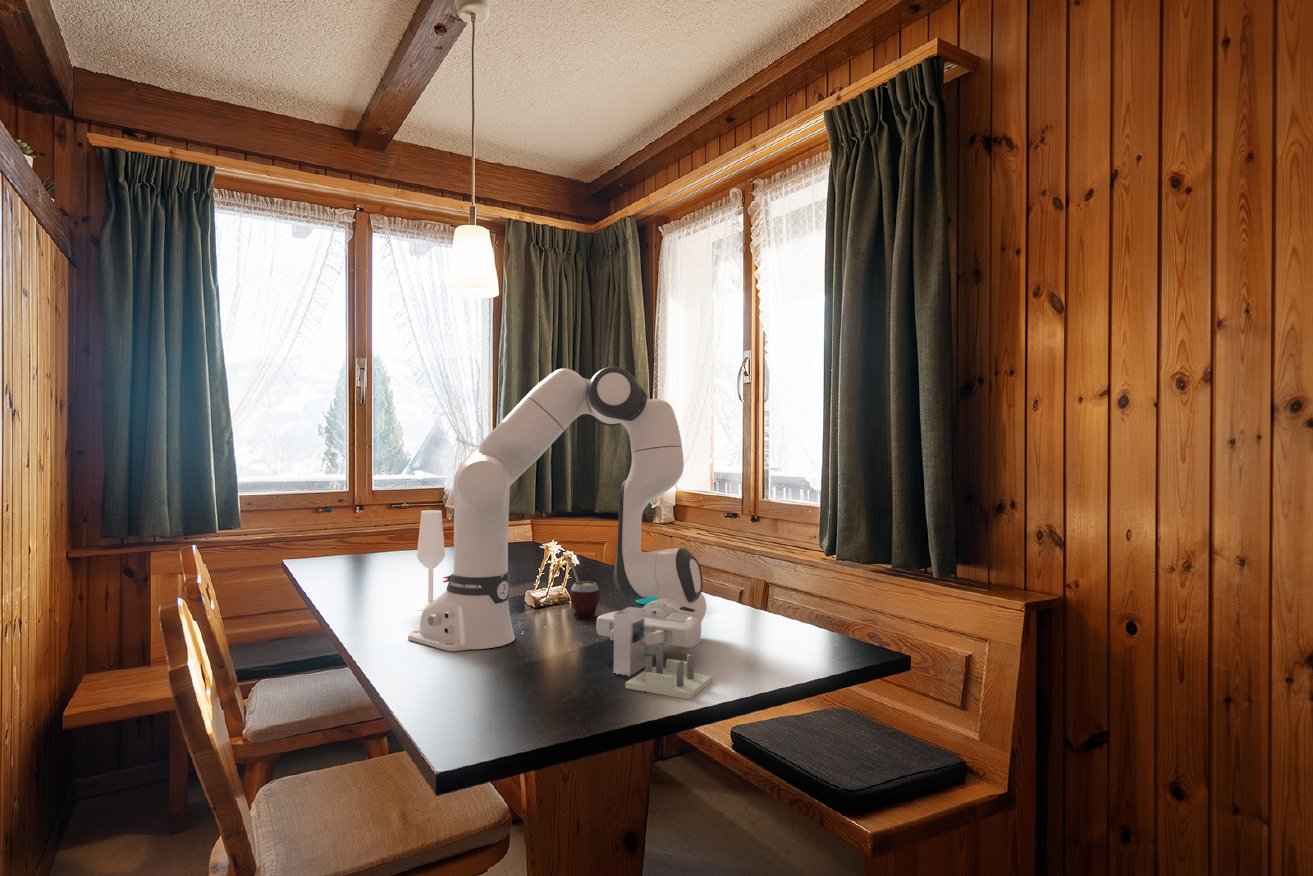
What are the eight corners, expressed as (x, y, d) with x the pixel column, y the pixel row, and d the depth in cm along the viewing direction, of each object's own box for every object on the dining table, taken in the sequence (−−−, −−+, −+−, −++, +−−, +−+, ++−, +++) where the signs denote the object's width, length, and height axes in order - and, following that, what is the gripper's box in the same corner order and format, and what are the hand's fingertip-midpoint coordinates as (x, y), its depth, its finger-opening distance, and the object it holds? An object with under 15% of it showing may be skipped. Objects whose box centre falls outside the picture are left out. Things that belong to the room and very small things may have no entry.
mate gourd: (605, 616, 182) (605, 553, 181) (585, 622, 175) (585, 557, 175) (580, 611, 186) (581, 550, 186) (560, 618, 179) (560, 554, 179)
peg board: (625, 688, 130) (625, 659, 130) (651, 672, 139) (651, 644, 139) (689, 699, 125) (690, 669, 125) (712, 681, 134) (712, 653, 134)
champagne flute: (419, 605, 191) (420, 509, 191) (446, 604, 191) (447, 509, 191) (413, 611, 184) (414, 512, 184) (442, 610, 185) (443, 512, 185)
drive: (613, 673, 138) (614, 613, 138) (628, 664, 143) (629, 606, 143) (630, 676, 136) (630, 615, 136) (645, 667, 142) (645, 608, 142)
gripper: (615, 600, 156) (580, 614, 144) (707, 612, 147) (678, 627, 135) (615, 631, 156) (580, 647, 144) (707, 644, 147) (678, 663, 135)
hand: (628, 638), depth 139 cm, fingers open, 5 cm apart
